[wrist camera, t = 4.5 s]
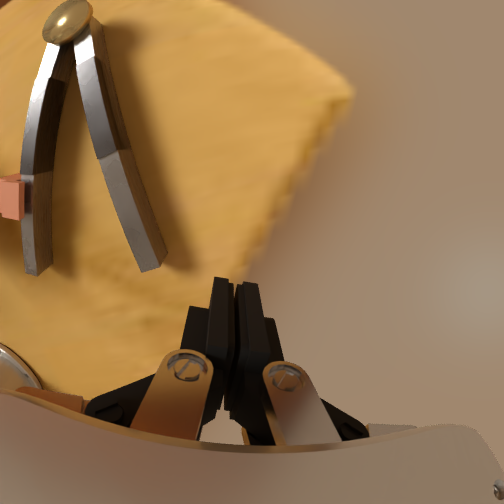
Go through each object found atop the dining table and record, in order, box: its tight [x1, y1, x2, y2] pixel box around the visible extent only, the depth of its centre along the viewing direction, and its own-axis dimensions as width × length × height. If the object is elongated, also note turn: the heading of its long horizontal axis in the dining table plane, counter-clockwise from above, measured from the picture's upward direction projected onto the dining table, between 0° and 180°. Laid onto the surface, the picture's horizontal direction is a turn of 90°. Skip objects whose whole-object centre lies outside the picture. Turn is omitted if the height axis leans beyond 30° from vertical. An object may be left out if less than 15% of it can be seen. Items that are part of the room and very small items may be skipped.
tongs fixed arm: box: [20, 0, 93, 276], centre depth 15 cm, size 24×4×4 cm, turn 168°
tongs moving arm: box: [73, 16, 168, 272], centre depth 17 cm, size 22×2×3 cm, turn 16°
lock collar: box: [0, 173, 25, 220], centre depth 17 cm, size 3×4×4 cm
